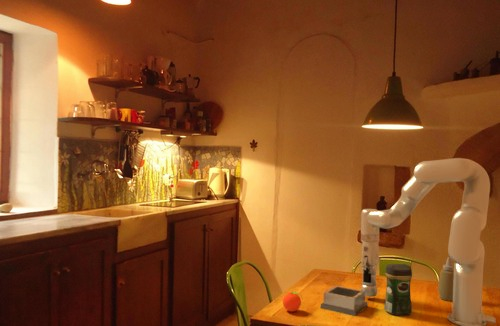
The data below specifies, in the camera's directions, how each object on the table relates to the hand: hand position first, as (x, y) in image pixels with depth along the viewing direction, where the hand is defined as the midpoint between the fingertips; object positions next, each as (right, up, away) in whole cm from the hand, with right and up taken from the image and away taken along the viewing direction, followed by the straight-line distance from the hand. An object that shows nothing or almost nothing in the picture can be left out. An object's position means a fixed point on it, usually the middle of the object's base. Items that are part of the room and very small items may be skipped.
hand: (369, 280), depth 179 cm
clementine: (-34, -7, -18) cm, 39 cm away
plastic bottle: (0, -7, 0) cm, 7 cm away
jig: (-13, -7, -12) cm, 19 cm away
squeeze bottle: (+35, -9, +3) cm, 36 cm away
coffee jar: (+6, -8, -16) cm, 19 cm away
